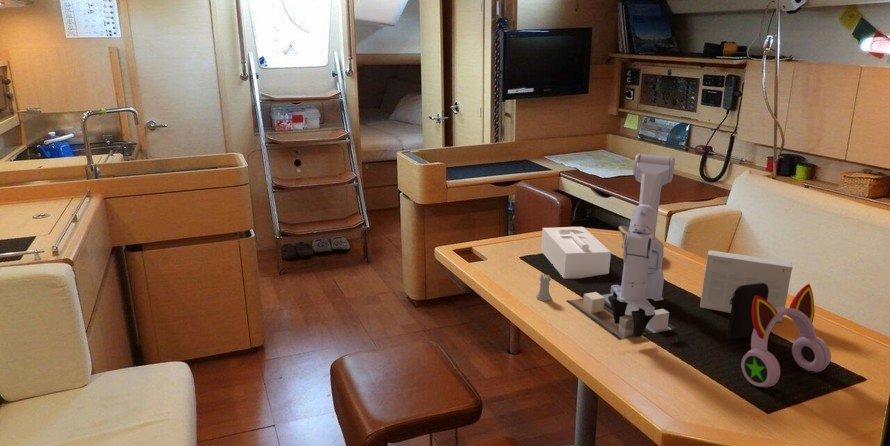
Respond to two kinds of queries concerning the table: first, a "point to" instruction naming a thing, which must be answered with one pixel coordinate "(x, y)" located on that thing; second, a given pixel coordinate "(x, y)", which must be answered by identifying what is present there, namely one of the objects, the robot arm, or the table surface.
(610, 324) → the strip
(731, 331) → the carrying case or bag
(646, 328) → the lane rails
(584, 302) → the cube
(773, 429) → the table surface
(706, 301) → the skincare box
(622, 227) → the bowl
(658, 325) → the strip
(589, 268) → the white rectangular block
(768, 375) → the headphones
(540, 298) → the rook chess piece
